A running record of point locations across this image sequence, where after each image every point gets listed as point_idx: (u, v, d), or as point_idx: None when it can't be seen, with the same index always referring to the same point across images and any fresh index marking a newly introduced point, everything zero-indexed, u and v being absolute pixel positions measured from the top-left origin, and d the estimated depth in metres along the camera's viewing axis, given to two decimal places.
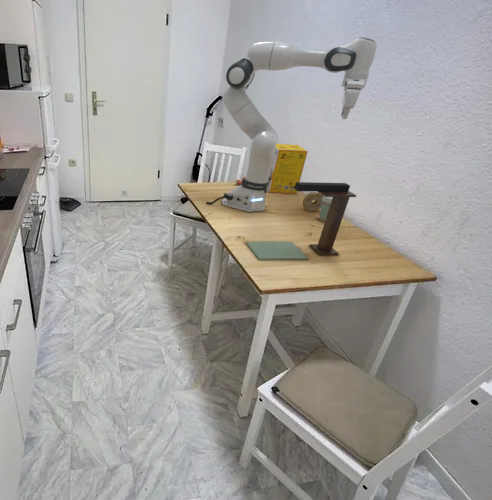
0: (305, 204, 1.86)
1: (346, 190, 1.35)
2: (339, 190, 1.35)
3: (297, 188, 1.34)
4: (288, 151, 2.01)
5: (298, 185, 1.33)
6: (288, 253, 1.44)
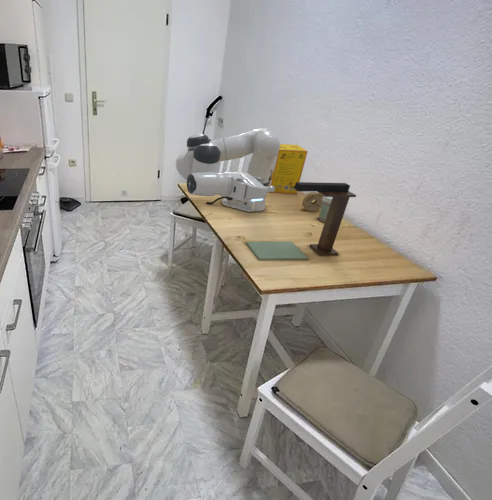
0: (305, 204, 1.86)
1: (346, 190, 1.35)
2: (339, 190, 1.35)
3: (297, 188, 1.34)
4: (288, 151, 2.01)
5: (298, 185, 1.33)
6: (288, 253, 1.44)
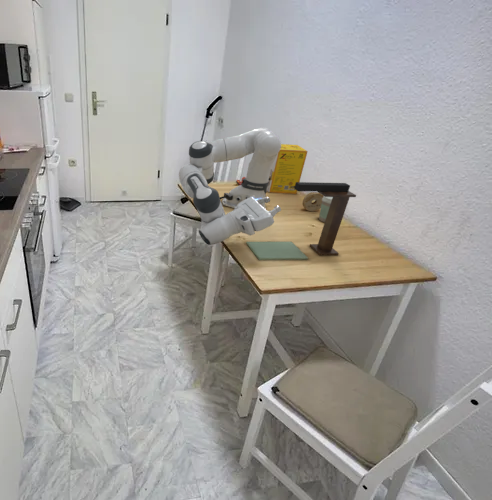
0: (305, 204, 1.86)
1: (346, 190, 1.35)
2: (339, 190, 1.35)
3: (297, 188, 1.34)
4: (288, 151, 2.01)
5: (298, 185, 1.33)
6: (288, 253, 1.44)
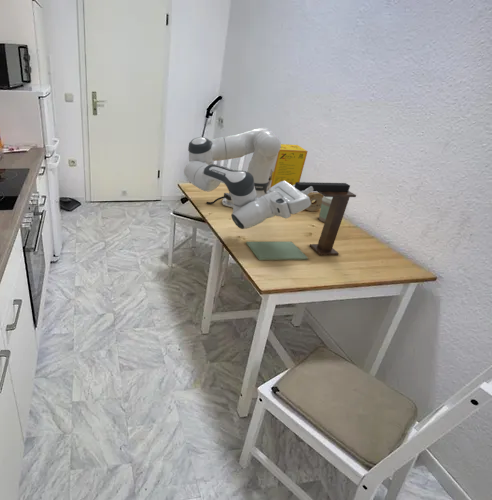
0: None
1: (346, 190, 1.35)
2: (339, 190, 1.35)
3: (297, 188, 1.34)
4: (288, 151, 2.01)
5: (298, 185, 1.33)
6: (288, 253, 1.44)
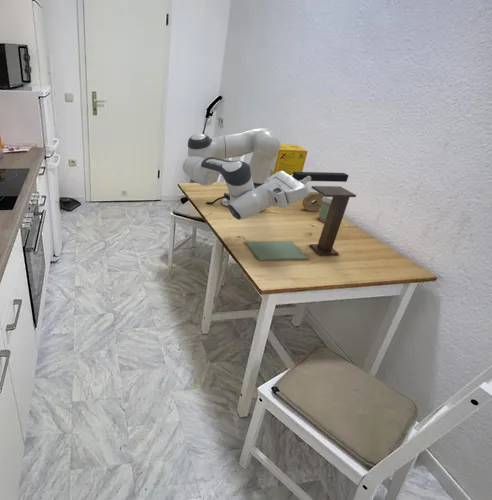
0: (305, 204, 1.86)
1: (344, 180, 1.33)
2: (337, 180, 1.33)
3: (295, 178, 1.31)
4: (288, 151, 2.01)
5: (296, 174, 1.31)
6: (288, 253, 1.44)
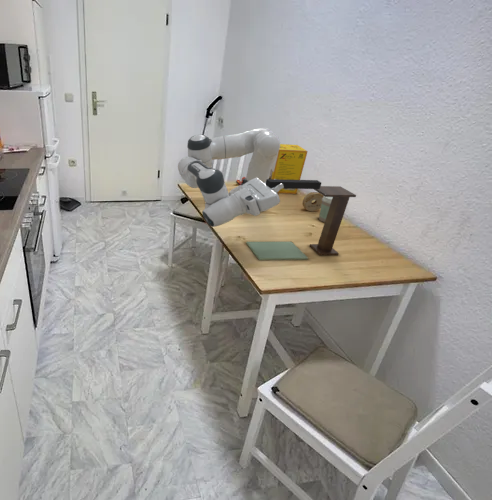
0: (305, 204, 1.86)
1: (317, 187, 1.33)
2: (310, 187, 1.33)
3: (267, 185, 1.32)
4: (288, 151, 2.01)
5: (268, 182, 1.31)
6: (288, 253, 1.44)
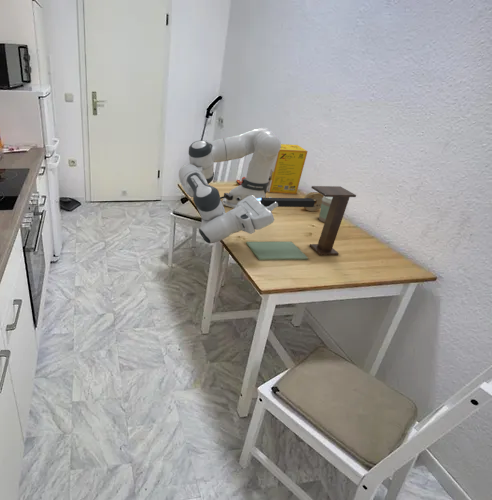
0: None
1: (311, 205, 1.37)
2: (304, 205, 1.36)
3: (262, 203, 1.35)
4: (288, 151, 2.01)
5: (263, 201, 1.34)
6: (288, 253, 1.44)
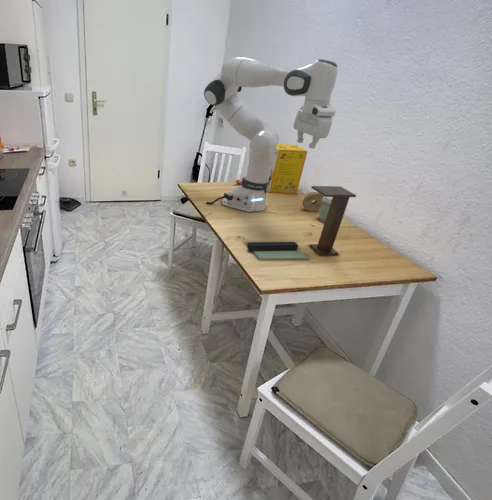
0: (305, 204, 1.86)
1: (295, 249, 1.46)
2: (288, 249, 1.45)
3: (249, 248, 1.44)
4: (288, 151, 2.01)
5: (250, 246, 1.43)
6: (288, 253, 1.44)
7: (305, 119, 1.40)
